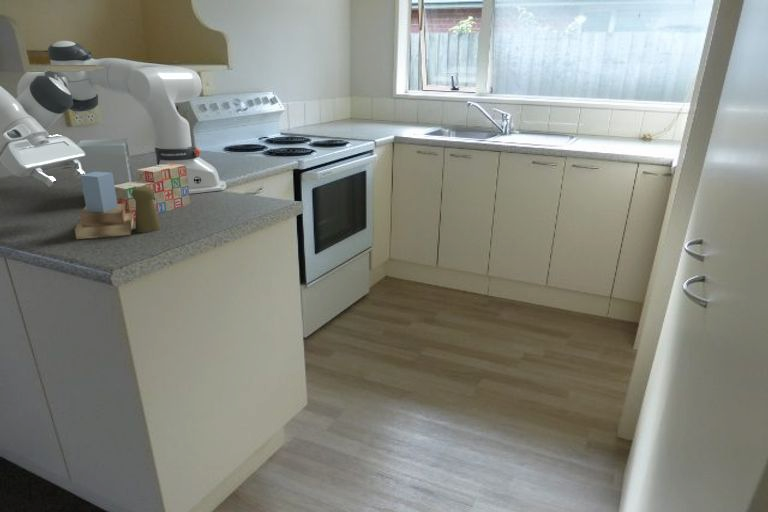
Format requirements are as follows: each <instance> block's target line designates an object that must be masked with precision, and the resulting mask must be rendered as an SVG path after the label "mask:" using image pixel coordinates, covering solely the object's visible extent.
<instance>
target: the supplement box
mask: <svg viewBox="0 0 768 512" xmlns="http://www.w3.org/2000/svg"><path fill="white" fill-rule="evenodd" d="M76 145H78V146H79V147H80V148H81V149H82V150H83V151H84V152H85V158H84V160H83V161H82V162H81V167H82V170H83V171H84V172H85V173H86V174H88V173H92V172H107V173H112V174H113V180H114V185H119V184H123V183H128V182H133V181H134V178H133V177H134V176H133V171H132V165H131V158H130V157H131V156H130V152H129V146H128V145H129V144H128V138H117V139H115V138H113V139H112V138H111V139H86V140H85V139H82V140H80V141H79V142H78V143H77V144H76ZM84 203H85V202H84ZM85 205H86V203H85Z"/></svg>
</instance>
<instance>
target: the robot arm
mask: <svg viewBox="0 0 768 512" xmlns="http://www.w3.org/2000/svg"><path fill="white" fill-rule="evenodd" d="M47 55H48V56H47V57H48V59H49V61H50V66H51V65H96V66H103V67H104V68H102V69H95V70H92V71H80V72H53V71H52V70H50V71H45V72H28V71H26V72H25V73H24V74H23V75H22V76H21V78H20V79H19V81H18V83H17V87H16V93H17V97H16V98H15V97H14V96H13V95H12V94H11V93H10V92H9V91H8V90H6V89H5V88H4V87H3V86H1V85H0V162H1V164H2V165H3V166H4V167H5V169H7V170H8V171H9V172H10V173H11V174H12V175H13V176H16V177H18V178H24V177H28V176H33V178H34V179H37V180H38V181H41V182H44V183H45V184H46V185H47V187H52V186H55V185H56V184H57V180H56V178H55V177H54V176H53V175H48V174H46V173H47V172H50V171H54V170H59V169H62V168H63V169H64V168H68V167H70V168H71V169H74V171H75V172H74V173H73V175H74V176H75V177H76V178H77V179H81V177H80V175H84V174H86V173H85V172H84V171H83V170H82V167H81V162H82V161H83V160H84V158H85V152H84V151H83V150H82V149H81V148H80V147H79V146H78V145H77V144H76V142H74V141H73V140H72V139H70V138H69V137H67V136H65V135H62V134H59V133H54V134H50V133H49V132H48V131H47V130H48V129H49V128H50V127H51V126H53V124H54V123H56V121H58V119H60V117H61V116H62V115H64V114H65V113H66V112H68V110H70V111H73V112H81V113H83V112H89V111H92V110H95V108H97V106H98V105H99V96H98V94H97V89H96V85H97V86H99V87H101V88H103V89H105V90H107V91H110V92H113V93H117V94H121V95H124V96H125V95H126V96H129V97H132V99H134V101H136V102H137V103H139V105H141V107H142V108H143V109H144V110H145V112H146V114H147V116H148V117H149V119H150V122H151V124H152V125H151V126H152V129H153V131H152V132H153V137H154V142H155V146H154V155H155V162H156V165H162V164H163V165H165V164H170V163H172V164H180V165H186V172H187V178H188V189H189V195H191V194H201V193H210V192H217V191H224V190H226V189H227V182H226V181H224V180H223V179H220V177H219V173H218V171H217V169H216V168H215V167H214V166H213V165H212V164H210V163H209V162H207V161H206V160H204V159H202V158H201V157H200V155H201V150H200V149H199V148H198V147H197V146H194V145H192V137H191V136H192V135H191V128H190V123H189V121H188V120H187V118H185V117H183V116H182V115H180V113H179V112H178V109H177V107H176V103H186V102H189V101H192V100H194V99H197V98H198V97H200V95H201V93H202V89H203V83H202V82H203V81H202V78H201V77H200V75H199V74H198V73H197V72H196V71H195V70H193V69H192V68H187V67H183V66H176V65H167V64H159V63H153V62H152V63H150V62H141V61H136V60H129V59H124V58H119V57H118V58H116V57H105V58H104V57H102V58H97V59H95V58H93V56H94V54H93V52H92V51H90V50H87V49H86V47H84V46H83V45H81V44H79V43H78V42H75V41H70V40H59V41H56V42H55V43H52V44H50V45H49V46H48V47H47ZM45 172H46V173H45Z"/></svg>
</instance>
